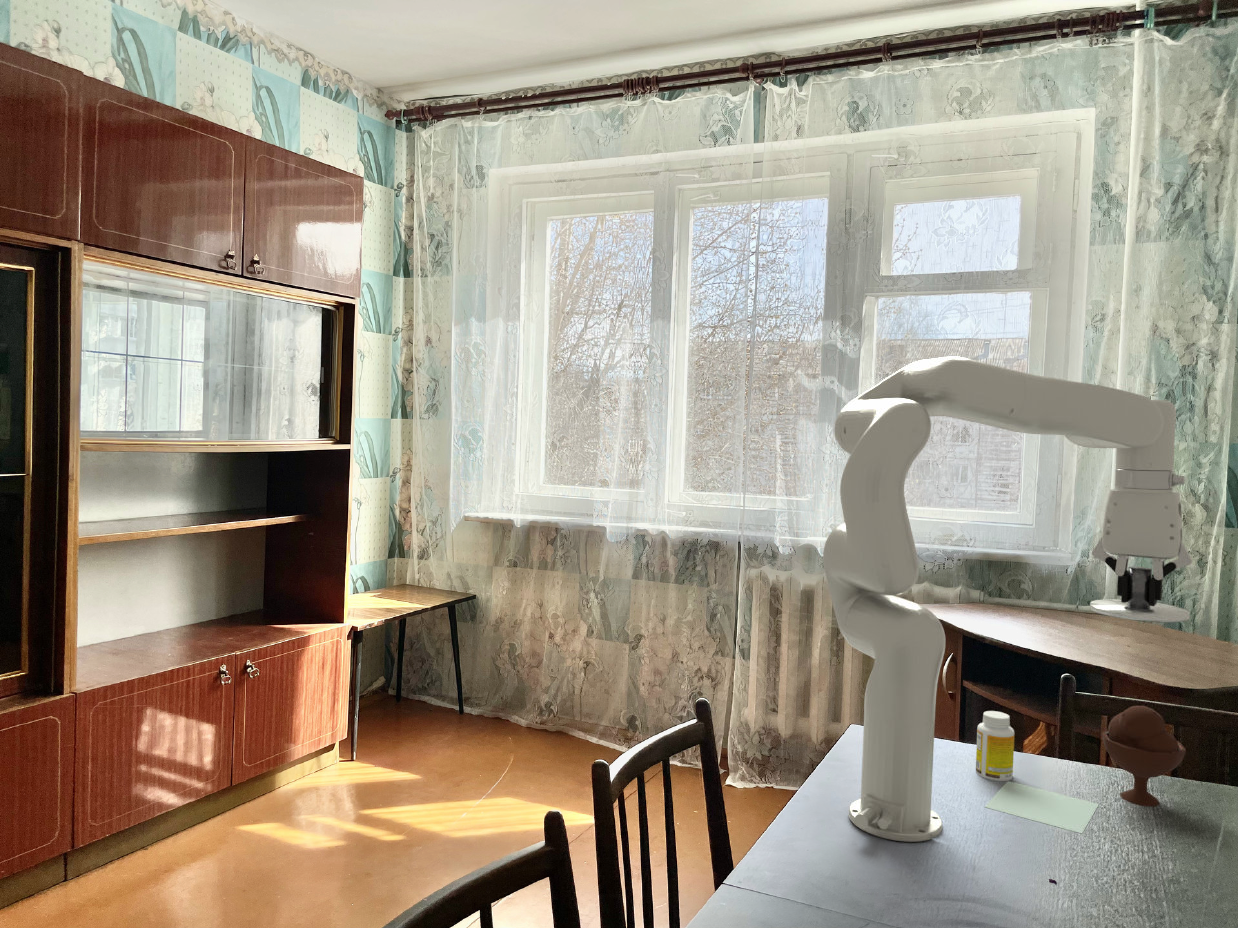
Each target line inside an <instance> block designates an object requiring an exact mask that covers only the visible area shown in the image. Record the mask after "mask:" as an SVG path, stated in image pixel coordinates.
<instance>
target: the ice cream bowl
mask: <svg viewBox="0 0 1238 928" xmlns="http://www.w3.org/2000/svg"><path fill="white" fill-rule="evenodd" d="M1101 736H1102V742H1103V745H1104V747H1105V749H1106V751H1107V753H1108V755H1109V756H1110V758H1111V759H1112V761H1114V762H1115V764H1116V765H1117V766H1118V767H1120V769H1123V770H1124V771H1125V772H1128V773H1129V774H1132V777H1133V778H1134V779H1133V780H1134V782H1133V788H1132V789H1128V790H1126V791H1123V792H1120V794H1119V796H1120V797H1121V799H1122V800H1124V801H1126V802H1128V803H1130V804H1133V805H1138V806H1142V807H1152V808H1153V807H1157V806H1159V805H1161V803H1160V800H1159V799H1158V798H1157V797H1155V795H1153V794H1151V793H1150V792H1149V791H1148V782H1149V780H1150V779H1151V778H1158V777H1160V776H1163V775H1165V774H1168V773H1169V772H1171V771H1173V770H1174V769H1176V768H1177V767H1179V766H1180V764H1181V763H1182V761H1183V760H1184V758H1185V755H1186V751H1187V750H1186V747H1185V746H1184V745H1183V744H1182V743H1181V742H1180V741H1179V740H1177V739H1176V738H1175V736H1174V735H1172V734H1171V733H1170V732H1168V731H1167V730H1166V721H1165V718H1163V716H1162V715H1161V714H1160V713H1159V712H1157V711H1156V710H1154V709H1153V708H1150V707H1148V706H1145V705H1133V706H1130V707H1128V708H1127V709H1125V710H1123V712H1119V713H1118V714H1116V715H1115V716H1113V718H1112V719H1111V720H1110V721H1109V724H1108V727H1107V730H1105V731H1102V732H1101Z"/></svg>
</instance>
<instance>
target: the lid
mask: <svg viewBox="0 0 1238 928" xmlns="http://www.w3.org/2000/svg"><path fill="white" fill-rule="evenodd" d="M1128 571H1129V575H1128V577H1129V582H1128V602H1126V603H1122V602H1121V599H1118V598H1107V599H1106V598H1105V599H1104V598H1103V599H1096V600H1092V601H1090V603H1089V608H1090V610H1091V612H1092V611H1093V612H1095V613H1096V614H1100V615H1104V616H1108V617H1113V618H1118V619H1123V620H1124V619H1125V620H1130V621H1140V622H1141V621H1142V622H1150V623H1151V622H1153V623H1180V622H1186V621H1188V620H1190V614H1191V613H1190V611H1189V610H1188V609H1185V608H1183V607H1179V606H1175V605H1171V604H1166V603H1159V602H1157V603H1156V605H1155V606H1150V605H1149V582H1150V579H1151V578H1152V575H1153V573H1152V571H1153V568H1150V567H1144V566H1128Z"/></svg>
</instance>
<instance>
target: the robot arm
mask: <svg viewBox="0 0 1238 928" xmlns="http://www.w3.org/2000/svg"><path fill="white" fill-rule="evenodd" d="M1176 413H1177V410H1176V407H1175V405H1174V403H1172V402H1171V401H1168V400H1163V399H1150V398H1149V397H1146V396H1145V395H1141V394H1138V393H1134V392H1130V391H1127V390H1121V389H1119V388H1115V387H1110V386H1105V385H1098V384H1092V383H1086V382H1080V381H1072V380H1066V379H1062V378H1057V377H1051V376H1044V375H1036V374H1031V373H1028V372H1022V371H1020V370H1014V369H1010V368H1006V367H1002V366H999V365H994V364H991V363H987V362H982V361H979V360H975V359H971V358H967V357H960V356H944V357H936V358H929V359H920V360H917V361H914V362H912V363H909V364H908V365H906V366H904V367H902V368H901V369H899V370H897V371H896V372H895V373H892V374H891V375H889V376H888V377H886V378H885V379H883V380H881V381H880V382H878V383H877V384H876V385H874V386H873V387H871V388H870V389H867V390H866V391H864V392H863V393H862V394H860V395H858V396H857V397H856V398H855V397H854V399H852V400H851V401H849V402H848V403H846V404H845V406H844V407H843V408H842V409H841V410H840V411H839V413H838V415H837V417H836V419H835V423H834V436H835V439H836V441H837V443H838V445H839V446H840V448H841V449H842V450H843V451H844V452H845V453H847V454H849V457H848V459H847V462H846V464H845V466H844V469H843V471H842V475H841V480H840V485H839V486H840V489H839V493H840V494H839V495H840V503H841V509H842V515H843V521H844V522H843V523H841V524H839V525H838V526H836V527H835V528H834V529H833V530H832V531H831V532H830V533H829V534H828V537H827V538H826V540H825V543H824V548H823V553H822V554H823V558H822V559H823V560H822V561H823V569H824V574H825V577H826V582H827V586H828V591H829V595H830V598H831V603H832V607H833V610H834V611H833V612H834V615H835V618H836V622H837V626H838V628H839V631H840V633H841V635H842V636H843V639H844V640H845V642H847V643H848V644H849V646H851V647H852V648H853V649H855V650H857V651H859V652H861V653H863V654H864V655H867V656H868V657H871V658H872V659H874V664H873V667H872V670H871V672H870V675H869V677H868V680H867V683H866V686H865V692H864V693H865V694H864V701H863V703H864V705H863V710H864V713H863V735H862V736H863V737H862V762H861V763H862V764H861V784H860V785H861V787H860V788H861V789H860V798H858V799H857V800H855V801H853V802H851V804H850V805H849V808H848V818H849V819H850V821H851V822H852V823H853V824H854V825H855V826H856V827H858V828H859V829H860V830H862V831H864V832H866V833H867V834H869V835H873V836H875V837H879V838H883V839H886V840H892V841H897V842H906V843H907V842H911V843H912V842H913V843H914V842H924V841H929V840H933V839H934V838H936V837H938V836H939V835H940V834H941V833H942V830H943V820H942V818H941V817H940V816H939V814H938V813H936V812H935V811H934V810H932V791H933V790H932V788H933V769H934V750H935V749H934V745H935V744H934V742H935V724H936V723H935V722H936V721H935V720H936V702H937V701H936V700H937V690H938V689H937V688H938V681H939V677H940V676H939V675H940V671H941V667H942V664H943V660H944V656H945V652H946V651H945V650H946V634H945V630H944V627H943V624H942V623H941V621H940V619H939V618H938V617H937V615H935V614H934V613H933V612H932V611H931V610H930V609H928V608H926V606H925V607H924V605H921V604H919V603H916V602H914V601H911V600H909V599H906V598H903V597H900V595H902V594H905V593H907V592H908V591H911V589H912V588H913V587H914V586H915V585H916V583H917V581H918V577H919V572H920V563H919V558H918V553H917V549H916V544H915V539H914V535H913V531H912V528H911V523H910V517H909V515H908V514H909V513H908V509H907V503H906V498H905V483H906V478H907V475H908V472H909V471H910V468H911V467H912V464H913V463H914V462H915V460H916V458H918V456H919V455H920V454H921V452H922V451H923V450H924V448H925V447H926V445H927V443H928V441H929V439H930V435H931V431H932V421H931V417H946V418H947V417H948V418H953V419H958V420H962V421H967V422H971V423H976V424H981V425H984V426H989V427H994V428H998V429H1001V430H1006V431H1010V432H1015V433H1022V434H1027V435H1028V434H1031V435H1046V436H1048V435H1050V436H1051V435H1053V436H1064V437H1065V438H1066V439H1067V440H1068V441H1069V442H1070V443H1072V444H1074V445H1076V446H1079V447H1082V448H1089V449H1115V450H1116V451H1115V452H1116V453H1115V454H1116V455H1115V474H1114V475H1115V477H1114V480H1115V481H1114V489H1109V493H1108V496H1107V500H1106V506H1105V511H1104V520H1103V526H1102V528H1103V529H1102V537H1101V538H1100V539H1099V541H1098V543H1097V544H1096V545H1095V547H1094V548H1093V550H1092V551H1091V555H1092V556H1093V557H1095V558H1096V559H1098V560H1100V561H1102V562H1104V563H1105V564H1106V565H1107V566H1108V567H1109V568H1110V569H1111V570H1112V571H1113V572H1114V573H1115V575H1116V576H1117V590H1116V595H1117V596H1118V597H1121V602H1122V603H1126V602H1128V582H1129V577H1128V575H1129V569H1128V568H1129V559H1130V557H1132V558H1133V557H1134V558H1135V557H1136V558H1145V559H1151V560H1152V571H1153V573H1152V577H1151V579H1150V582H1149V605H1150V606H1155V605H1156V603H1158V601H1160V602H1161V601H1162V596H1163V579H1164V578H1165V577H1167V576H1168V575H1170V574H1171V573H1172V572H1173V571H1175V570H1178V569H1181V568H1184V567H1187V566H1190V565H1191V564H1192V563H1193V559H1192V557H1191V555H1190V554H1189V551H1188V550H1187V548H1186V546H1185V544H1184V543H1183V514H1182V511H1183V510H1182V505H1181V504H1182V503H1181V497H1180V493H1179V492H1177V491H1174V487H1176V486H1179V485H1180V486H1181V485H1182V486H1185V481H1186V479H1185V478H1186V476H1185V475H1179V474H1177V473H1175V471H1174V468H1175V465H1174V463H1175V440H1176V438H1175V437H1176V421H1177V420H1176V418H1177V417H1176ZM1114 555H1115V556H1116V557H1115V556H1114ZM1177 557H1178V558H1177ZM1174 558H1177V559H1175V560H1172V561H1169V562H1167V563H1166V564H1165V560H1171V559H1174Z"/></svg>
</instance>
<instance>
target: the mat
mask: <svg viewBox="0 0 1238 928" xmlns="http://www.w3.org/2000/svg"><path fill="white" fill-rule="evenodd" d="M1099 806H1100V804H1099V803H1097V802H1092V801H1089V800H1085V799H1081V798H1077V797H1072V796H1070V795H1069V796H1068V795H1065V794H1062V793H1057V792H1053V791H1049V790H1045V789H1041V788H1037V787H1033V786H1029V785H1025V784H1021V783H1017V782H1013V781H1010V780H1008V781H1005V783H1004V785H1003V786H1001V788H1000V789H999V790H998V791H997V792H996V793H995V795H993V796H992V797H991V799H990V800H989V801H988V802H987V803H986V804H985V805H984V808H985V809H990V810H992V811H997V812H1000V813H1003V814H1008V815H1012V816H1015V817H1020V818H1023V819H1025V820H1030V821H1034V822H1036V823H1041V824H1044V825H1048V826H1051V827H1055V828H1059V829H1061V830H1062V829H1063V830H1065V831H1066V830H1067V831H1070V832H1074V833H1077V834H1081V835H1082V834H1083V833H1084V832H1085V829H1086V828H1087V826H1088V824H1089V823H1090V821H1091V820H1092V817H1093V816H1094V813H1095V812H1096V810H1097V809H1098V807H1099Z"/></svg>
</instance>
